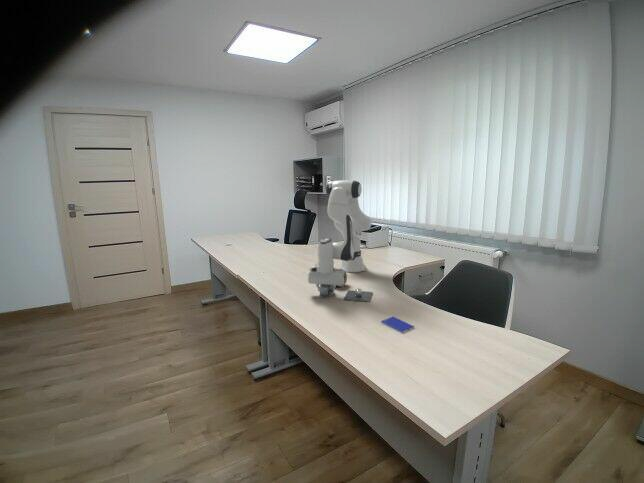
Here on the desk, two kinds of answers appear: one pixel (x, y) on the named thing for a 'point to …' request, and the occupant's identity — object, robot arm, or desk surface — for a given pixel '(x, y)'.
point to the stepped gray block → (326, 290)
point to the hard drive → (397, 324)
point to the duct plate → (362, 299)
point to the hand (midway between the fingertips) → (326, 291)
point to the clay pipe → (344, 279)
